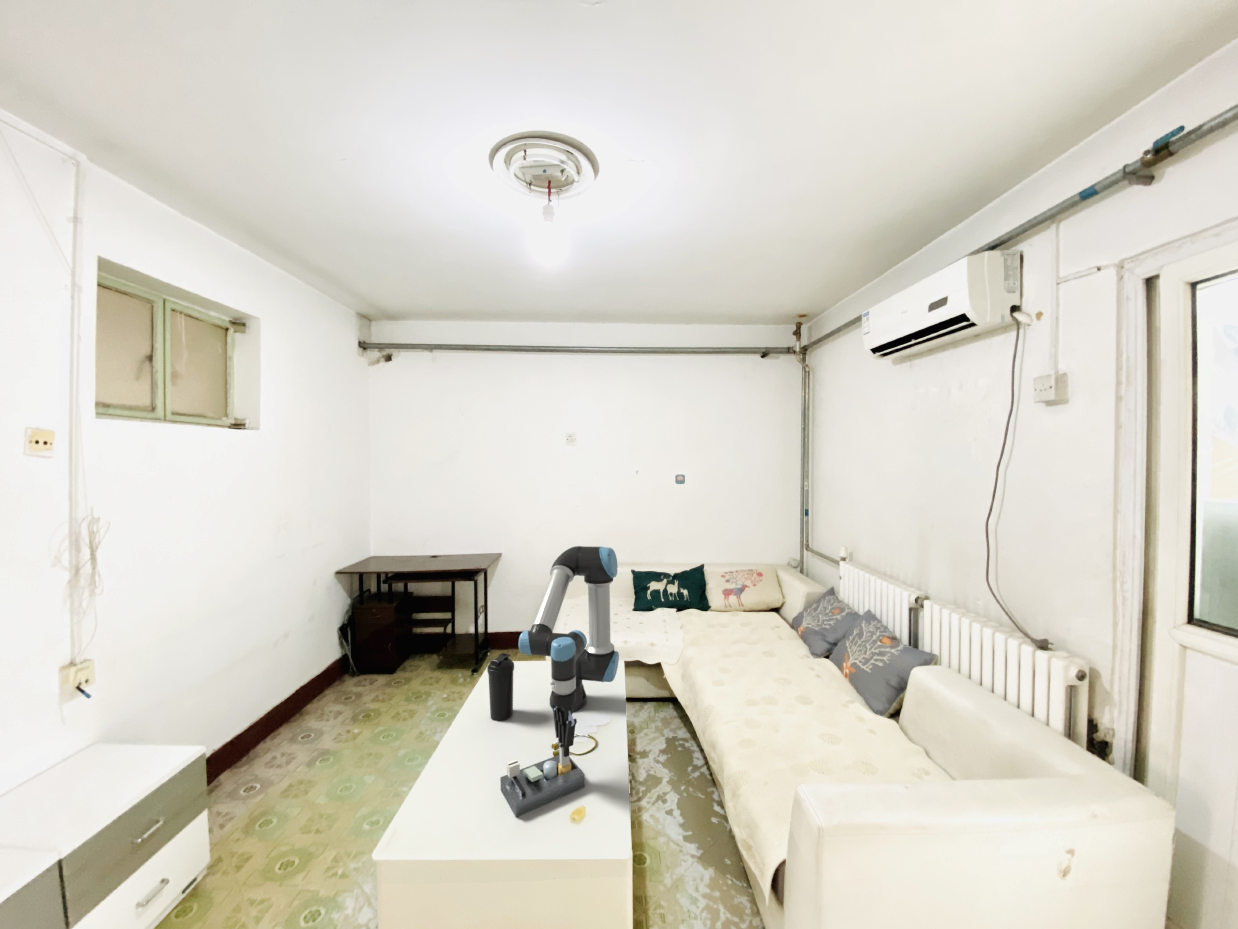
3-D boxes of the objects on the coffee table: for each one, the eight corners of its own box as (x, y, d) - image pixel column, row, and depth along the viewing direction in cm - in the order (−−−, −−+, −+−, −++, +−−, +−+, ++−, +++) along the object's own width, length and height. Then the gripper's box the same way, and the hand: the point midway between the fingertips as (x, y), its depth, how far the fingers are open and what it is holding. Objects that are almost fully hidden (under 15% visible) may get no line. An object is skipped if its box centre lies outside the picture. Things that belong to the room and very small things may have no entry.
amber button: (567, 772, 152) (567, 759, 152) (573, 779, 149) (573, 765, 149) (556, 776, 150) (556, 763, 150) (562, 784, 147) (561, 770, 146)
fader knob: (516, 769, 146) (516, 758, 146) (519, 774, 144) (519, 763, 144) (506, 773, 144) (506, 762, 144) (509, 778, 142) (509, 767, 142)
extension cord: (554, 737, 173) (553, 731, 173) (597, 736, 173) (597, 731, 173) (549, 759, 160) (549, 753, 160) (596, 758, 160) (595, 752, 160)
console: (565, 764, 157) (565, 748, 157) (584, 787, 146) (584, 770, 146) (500, 790, 145) (500, 773, 145) (515, 817, 134) (515, 799, 134)
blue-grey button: (553, 772, 149) (553, 759, 149) (558, 779, 146) (558, 766, 146) (541, 777, 147) (541, 763, 147) (546, 784, 144) (546, 770, 144)
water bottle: (520, 711, 189) (519, 654, 189) (503, 725, 180) (502, 664, 179) (499, 706, 193) (498, 650, 193) (482, 718, 184) (481, 660, 184)
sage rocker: (534, 769, 147) (534, 765, 148) (543, 777, 142) (543, 773, 142) (523, 773, 145) (523, 770, 146) (532, 782, 140) (531, 778, 140)
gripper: (544, 684, 152) (545, 757, 153) (561, 702, 141) (562, 780, 142) (565, 678, 156) (566, 749, 157) (584, 695, 145) (585, 771, 146)
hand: (564, 764), depth 149 cm, fingers closed
